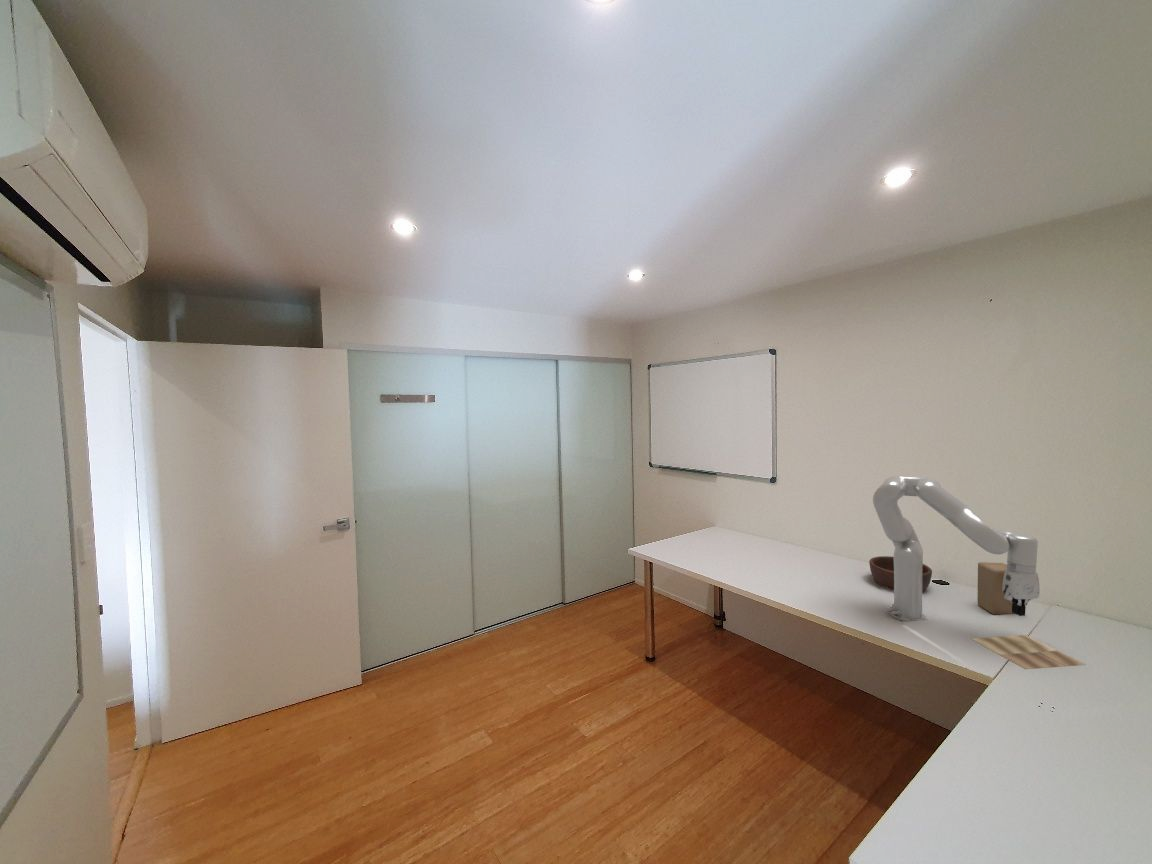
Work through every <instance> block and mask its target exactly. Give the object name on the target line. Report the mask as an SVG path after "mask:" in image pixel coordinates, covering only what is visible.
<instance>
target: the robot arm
mask: <svg viewBox="0 0 1152 864" xmlns="http://www.w3.org/2000/svg"><path fill="white" fill-rule="evenodd" d="M904 496H907V497H918V498H919V499H920V500H921V501H923V502H924V503H925V504H926V505H928V506H929V507H931V508H932V509H933V510H935V511H936V512H937V513H939V514H940V515H941V516H943V517H944V518H945V519H946V520H947V521H949V523H951V525H953V526H954V527H956V528H957V529H958V530H959V531H960V532H961V533H963V535H965V536H966V537H967V538H968V539H970V540H971V541H972V542H974V544H976V545H977V546H979V547H980V548H981V549H983V550H984V551H986V552H988V553H990V554H991V555H1004V554H1006V556H1007V557H1006V567H1007V569H1006V571H1005V574H1004V578H1003V586H1002V591H1003V593H1004V594H1005V596H1004V598H1005V599H1007V600H1010V601H1011V602H1012V612H1013V613H1015V614H1014V615H1016V616H1020V617H1026V608H1027V607H1026V606H1028V605H1029V602H1030V601H1031V600H1034V599H1038V598H1040V591H1041V589H1040V588H1041V587H1040V578H1039V574H1038V572H1037V560H1038V548H1039V547H1038V546H1039V545H1038V544H1039V541H1038V539H1037V538H1036V537H1035V536H1034V535H1030V534H1025V533H1017V532H1016V533H1015V532H1008V531H1005V530H1001V529H995V528H991V527H989V526H988V525H987V524H985V522H984V521H982V519H980V518H979V517H978V516H977V515H975V512H973V511H972V509H971V508H970V507H969V506H968V505H967V504H965V503H964V502H962V501H961V500H959V499H958V498H957V497H955V496H954V495H953V494H951V493H950V492H949V491H947V490H946V489H945V488H944V487H942V485H941V484H940V482H939V481H938V480H936V479H934V478H929V477H912V476H890V477H887V478H886V479H885V480H884V481H883V482H882V484H881V485H880V486H879V487H878V488H877V489H876V490H875V491H874V493H873V497H872V504H873V506H874V509H875V512H876V515H877V517H878V519H879V522H880V524H881V527H882V529H883V532H884V534H885V536H886V538H888V539H889V540H890V541H891V542H892V544H893V546H894V552H893V557H894V590H893V602H894V603H891V606H890V607H883V612H884V613H889V614H890V616H892V617H893V618H895V619H896V618H897V620H898V621H901V620H902V622H915V621H916V622H917V621H919V622H920V621H927V620H928V617H927V616H926V615H925V614H923V591H922V566H923V564H924V563H923V562H924V550H923V549H924V548H923V547H922V544H921V542H920V540H919V537H918V536H917V533H916V532H915V529H914V527H913V525H912V523H911V522H910V520H909V519H907V518H906V517H904V516H903V513H902V511H901V509H900V507H899V503H898V501H899V500H900V499H902V498H903V497H904Z"/></svg>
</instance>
